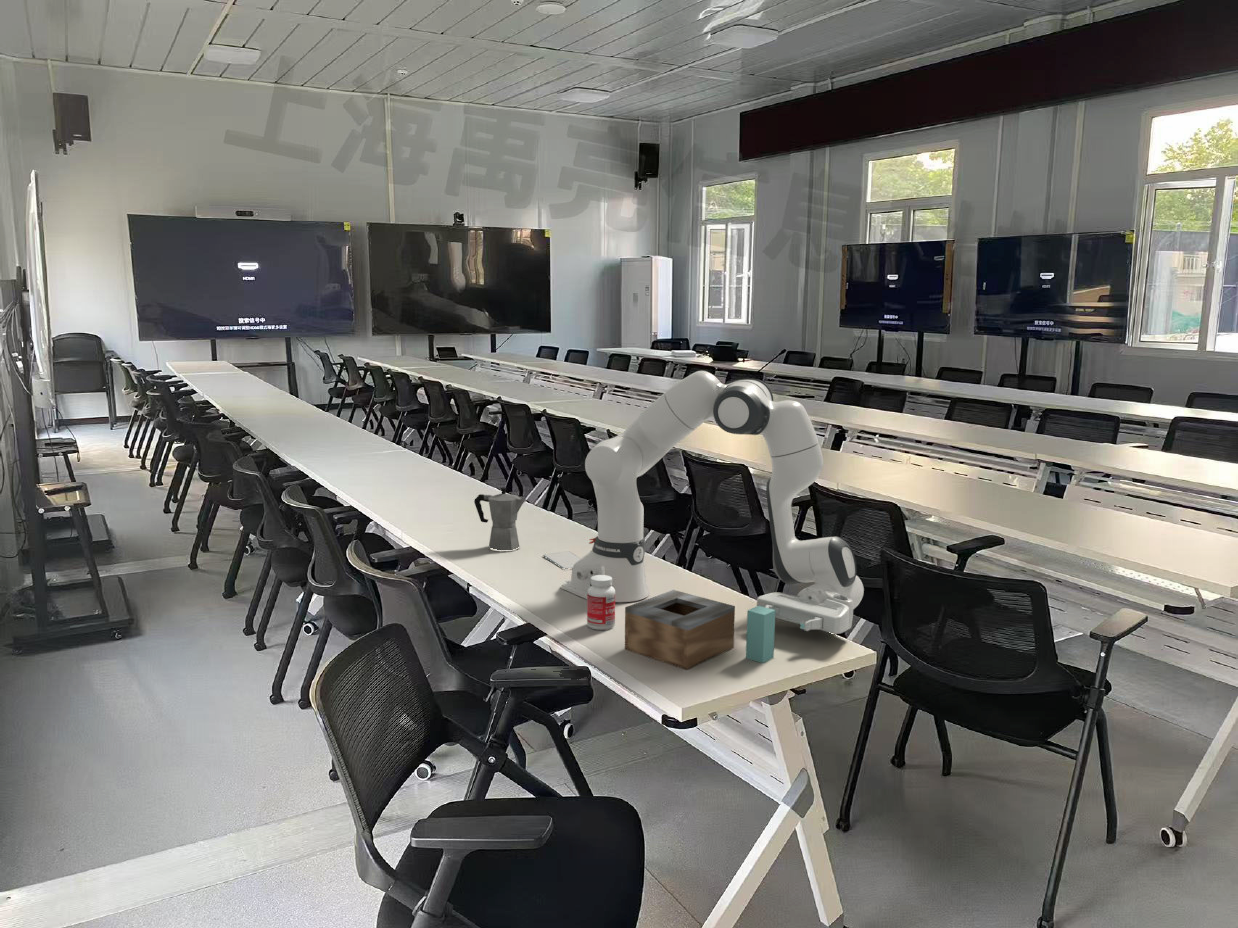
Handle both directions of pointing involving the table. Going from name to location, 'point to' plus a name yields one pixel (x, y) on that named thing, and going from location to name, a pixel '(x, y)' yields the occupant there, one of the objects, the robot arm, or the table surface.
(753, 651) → the block
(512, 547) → the coffeepot
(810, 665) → the table surface
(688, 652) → the drop box
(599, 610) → the pill bottle
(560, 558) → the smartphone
